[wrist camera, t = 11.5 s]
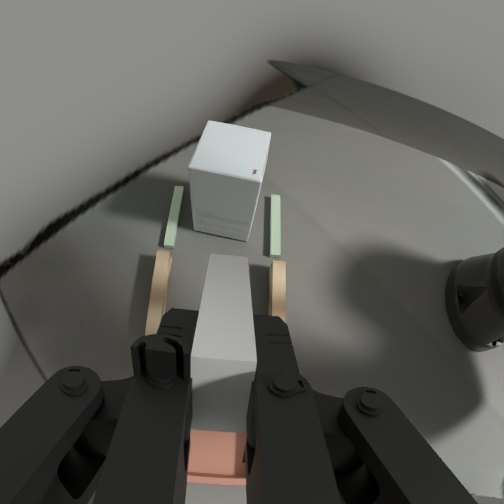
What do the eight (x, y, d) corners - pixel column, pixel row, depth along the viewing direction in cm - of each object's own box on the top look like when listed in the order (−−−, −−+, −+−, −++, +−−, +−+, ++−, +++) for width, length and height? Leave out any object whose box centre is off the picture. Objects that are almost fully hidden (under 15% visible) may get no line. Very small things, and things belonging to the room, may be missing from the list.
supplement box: (258, 197, 44) (274, 131, 33) (247, 243, 41) (262, 183, 30) (206, 185, 44) (208, 117, 33) (191, 230, 41) (186, 166, 30)
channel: (160, 258, 39) (157, 250, 37) (281, 269, 40) (285, 261, 38) (149, 338, 35) (144, 335, 32) (280, 349, 36) (284, 346, 34)
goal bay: (175, 189, 43) (175, 185, 43) (279, 198, 45) (280, 195, 44) (164, 247, 40) (163, 244, 39) (279, 257, 41) (280, 255, 40)
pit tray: (164, 412, 31) (162, 413, 29) (255, 419, 32) (258, 420, 30) (162, 474, 28) (159, 478, 26) (252, 480, 29) (255, 485, 27)
